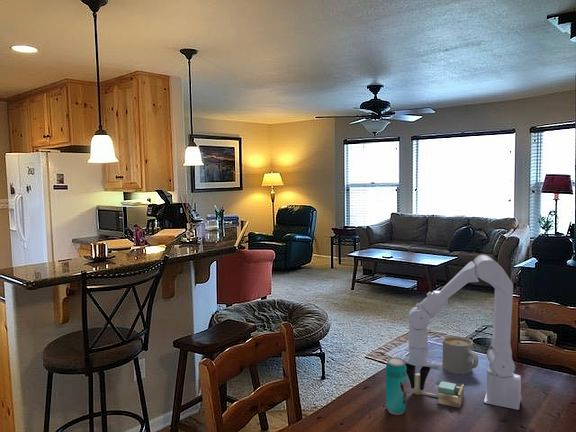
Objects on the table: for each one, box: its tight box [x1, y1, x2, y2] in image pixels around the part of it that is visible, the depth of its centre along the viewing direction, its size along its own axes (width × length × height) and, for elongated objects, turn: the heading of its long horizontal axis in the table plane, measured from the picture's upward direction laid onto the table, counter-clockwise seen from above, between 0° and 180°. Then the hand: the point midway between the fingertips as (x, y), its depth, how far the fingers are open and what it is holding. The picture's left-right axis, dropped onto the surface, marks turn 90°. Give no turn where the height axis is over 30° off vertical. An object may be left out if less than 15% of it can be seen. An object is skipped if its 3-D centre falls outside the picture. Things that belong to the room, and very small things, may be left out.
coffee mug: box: [442, 335, 479, 375], centre depth 165 cm, size 13×10×10 cm
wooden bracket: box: [437, 383, 465, 408], centre depth 144 cm, size 6×8×4 cm
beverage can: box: [385, 357, 407, 416], centre depth 137 cm, size 6×6×15 cm
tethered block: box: [413, 372, 457, 398], centre depth 146 cm, size 12×4×6 cm, turn 61°
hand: (417, 388), depth 149 cm, fingers closed on tethered block, 2 cm apart
